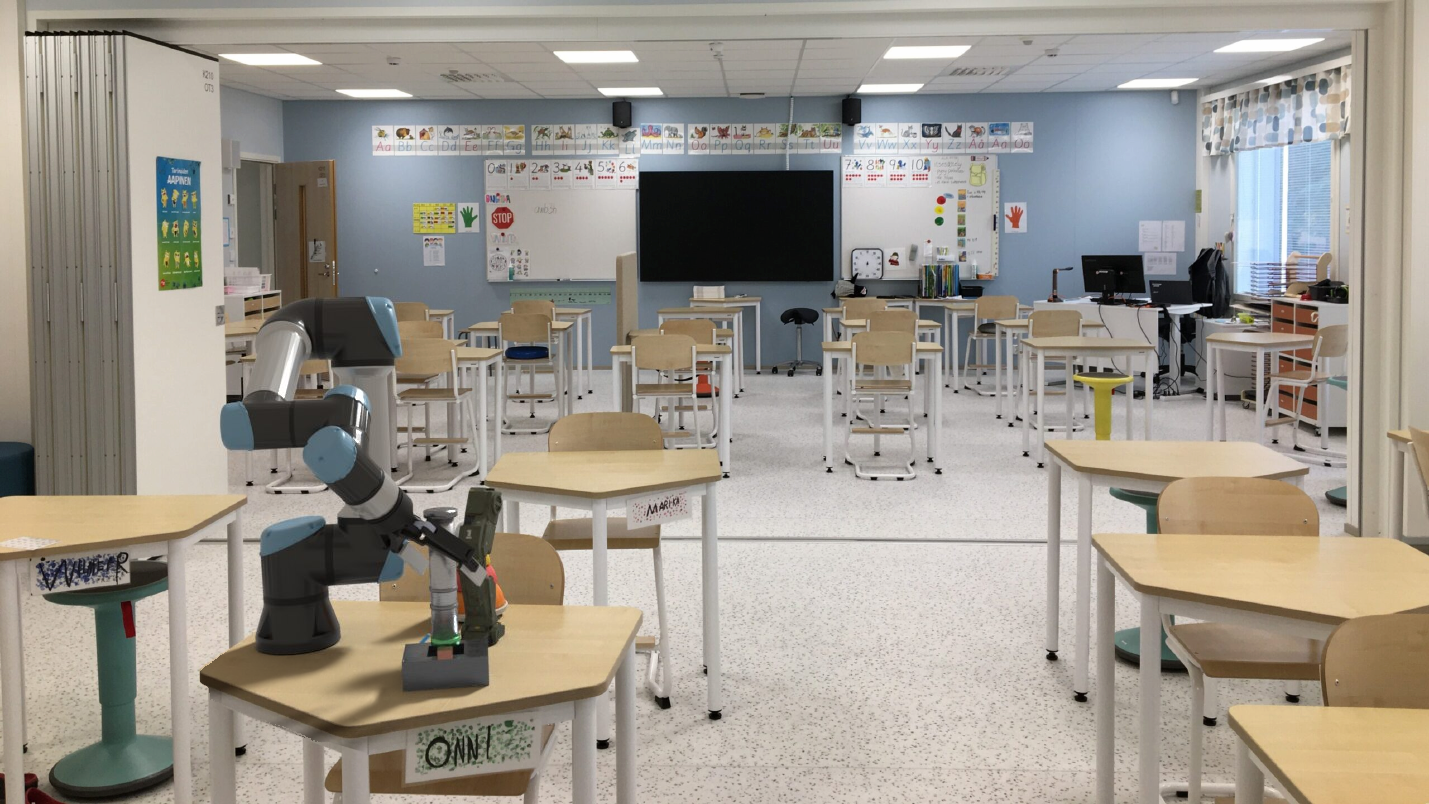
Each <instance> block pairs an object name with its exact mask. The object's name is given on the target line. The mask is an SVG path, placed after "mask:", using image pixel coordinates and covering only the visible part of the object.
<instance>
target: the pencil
mask: <svg viewBox="0 0 1429 804" xmlns="http://www.w3.org/2000/svg"><path fill="white" fill-rule="evenodd" d="M431 636H432V631H430V632H428V633H427V634H426V635H425V636H424V637H423V638H422V639H421V640H420V641H419V643H426V641H428V639H430V638H431Z"/></svg>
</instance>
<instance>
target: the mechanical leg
mask: <svg viewBox="0 0 1429 804" xmlns="http://www.w3.org/2000/svg"><path fill="white" fill-rule="evenodd" d="M502 498H503V497H502V492H501V491H498V490H496V487H479V486H478V487H477V486H475V487H473V486H472V487H470V488H469V490H468V493H467V499H466V504H465V511H464V518H463V521H464V524H463V525H462V526H460V530H459V536H458V538H459V539H461V540H462V541H464V542H465V543H467V544H468V545H470V546H471V547H473V548H474V549H475V550H476V552H475V554H474V556H473V558H474V559H475V560H476V561H477V562H478V563H479V564H480V565H481V566H482V567H483V568H484V569H485V570H486V557H487V554H488V555H490V554H492V551H493V549H492V548H493V545H494V539H495V535H496V529H497V524H498V519H499V515H500V513H501V511H502V508H503V500H502ZM458 574H459V578H460V583H461V589H462V595H463V601H464V607H465V622H463V623H462V625H461V628H460V640H467V639H480V638H488V648H490V647H491V646H492V645H494V644H496V643H498V642H499V641H500V639H501V637H502V636H503V635H505V633H506V625H505V624H502V622H501V621H499V616H497V614H496V611H495V605H496V584H495V582H494V578H493V577H492V576H491V575H489V577H485V578H484V580H483V582H482V584H481V586H477V585H476V584H475V583H474V582H473V581H472V580H471V579H470V578H469V577H468V576H467V575H466V574H465V573H464V572H463V571H462V570H461V569H460V568H458ZM486 576H487V575H486ZM489 646H490V647H489Z"/></svg>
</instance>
